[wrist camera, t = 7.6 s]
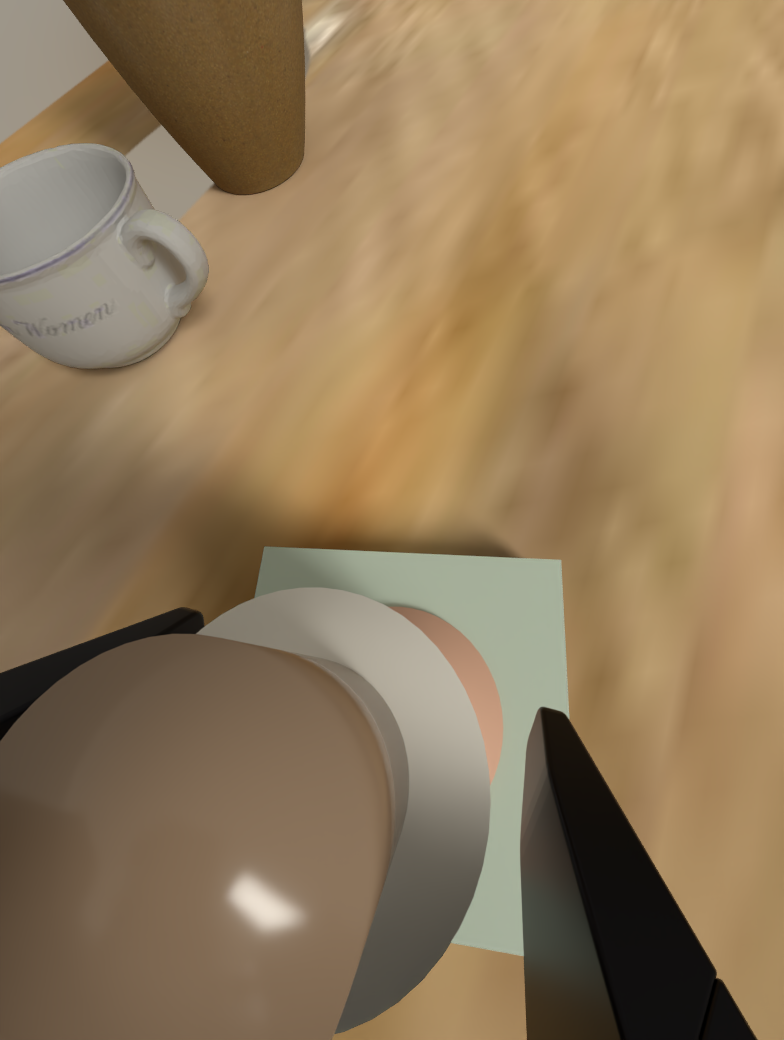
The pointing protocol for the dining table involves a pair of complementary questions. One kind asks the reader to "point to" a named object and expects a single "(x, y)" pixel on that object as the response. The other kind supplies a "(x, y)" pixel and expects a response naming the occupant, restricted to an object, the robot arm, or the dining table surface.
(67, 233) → the teacup
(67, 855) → the cosmetic bottle
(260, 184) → the plant pot
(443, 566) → the stacking base
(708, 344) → the dining table surface
